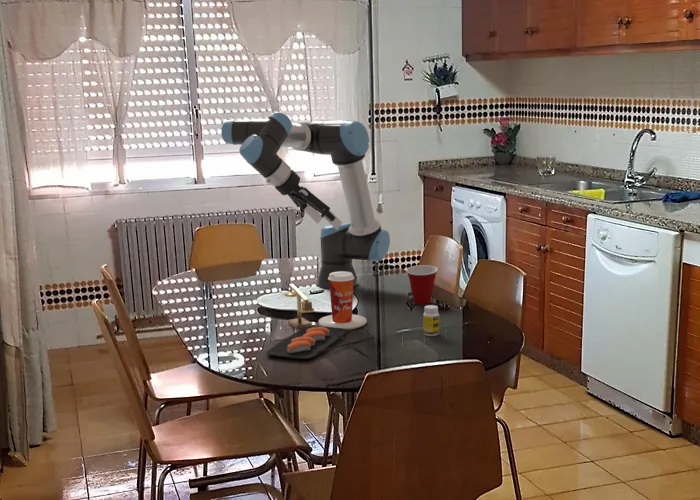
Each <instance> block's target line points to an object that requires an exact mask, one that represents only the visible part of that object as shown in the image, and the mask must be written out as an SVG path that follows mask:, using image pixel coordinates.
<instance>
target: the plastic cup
mask: <svg viewBox="0 0 700 500" xmlns="http://www.w3.org/2000/svg"><path fill="white" fill-rule="evenodd" d="M438 270H439V269H438V267H436V266H433V265H428V264H425V265H424V264H422V265H421V264H419V265H413V266H410V267H407V268H406V269H405V271H406V273H407V277H408V280H409V285H410V291H411V293H412V301H413V303H414V304H416V305H430V303H431V301H432V297H433V292H434V288H435V286H434V285H435V280H436V276H437V272H438Z"/></svg>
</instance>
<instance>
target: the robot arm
mask: <svg viewBox="0 0 700 500" xmlns="http://www.w3.org/2000/svg"><path fill="white" fill-rule="evenodd" d="M220 135H221V137H222V140H223V141H224V142H225V144H227V145H235V146H236V145H240V147H239V150H238V151H239V154H240V156H242V158H243V160H245V161H246V163H247V164H248V165H250V166H251V167H252V168H253V169H254V170H255V171H257V173H259V174H260V175H261V176H262V177H263V178H264V179H265V182H266V184H270V185H272V186H273V187H274V188H275V190H276V191H278V192H279V194H280V195H282V196H288V198H290V200H291V201H292V202H293V203H294V204H295V206H296V207H297V208H300V209H301V210H303V211H304V212H305V213H306V214H307V215H308V217H310V218H311V219H312V220H313V221H314V222H315V223H316V224H319V223H320V222H321V221H322V220H323V218H324V219H325V220H326V222H328V223H329V224H327V225H324V226H322V227H321V229H320V237H319V239H320V254H321V255H320V258H321V266H320V270H319V272H318V276H317V280H316V281H317V282H316V283H317V286H318V287H319V288H322V289H329V290H330V285H329V280H328V277H329V274H330V273H332V272H339V271H345V272H351V273H352V274H353V276H354V279H353V288H354V287H355V286H357V285H358V277H357V274H356V271H355V268H354V264H353V260H357V261H359V260H360V261H367V262H381V261H382V260H384V259H385V257H386V256H387V255H388V252H389V249H390V244H391V235H390V233H389V232H388V231H387V229H382V226H381V223H380V221H379V220H378V219H376V218H375V213H374V208H373V203H372V200H371V196H370V190H369V186H368V182H367V177H366V173H365V172H366V171H365V168H364V163H363V160H364V159H365V158H366V153H367V152H368V150H369V148H370V147H369V146H370V144H369V143H370V137H369V134H368V129H367V128H366V127H365V125H364V124H363V123H361V122H360V121H359V120H358V121H357V120H352V119H351V120H350V119H347V120H346V119H345V120H315V121H307V122H306V121H305V122H300V121H298V122H295V123H292V120H291V119H290V118H289V116H288V115H287V114H285V113H283V112H280V111H274V112H272V113H271V114H270V115H269V116H268V117H267V119H228V120H225V121H224V123H223V124H222V126H221V134H220ZM282 147H283V148H291V149H293V150H295V151H300V152H307V153H311V154H316V155H317V154H318V155H324V156H325V155H327V156H330V158H331V161H332V164H333V165H335V166H337V168H338V171H339V177H340V181H341V185H342V188H343V193H344V198H345V202H346V206H347V211H348V215H349V219H350V222H342V221H341V219H339V218H338V217H337V216H336V215H335V214H334V212H332V210H331V207H330V206H329V205H327V204H326V203H324V202H323V201H322V200H321V199H320V198H318V196H316V195H315V194H313V193H312V192H311V191H310V190H309V189H308V188H307V187H305V186H303V185H302V186H301V185H300V182H301V176H300V175H298V173H296V171H294V169H291V167H290V165H289V164H288V163H286V162H285V161H284V159H282V158H281V157H280V156H279V155H278V152H279V150H280V148H282Z"/></svg>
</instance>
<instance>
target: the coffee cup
mask: <svg viewBox="0 0 700 500" xmlns="http://www.w3.org/2000/svg"><path fill="white" fill-rule="evenodd" d="M353 279H354V276H353V274H352V273H351V272H345V271H339V272H332V273H330V274H329V277H328V280H329V285H330V289H329V292H330V293H329V294H330V295H329V296H330V297H329V298H330V307H331V315H332V319H333V322H335V323H348V322H351V321H352V314H353V304H354V303H353V299H354V298H353V297H354V287H353Z"/></svg>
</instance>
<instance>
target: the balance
mask: <svg viewBox="0 0 700 500" xmlns="http://www.w3.org/2000/svg"><path fill="white" fill-rule="evenodd" d="M289 287H290V291H288V292H285V293H284V297H287V298H288V297H289V298H292V297H293V298H294V297H295V298H296V304H297V305H296V306H297V307H296V308H297V317H296V318H293V319H291V318H290V319H288V320H287V324H288V325H290V326H291V327H293V328H294V329H297V330H300V329H302V328H304V327H306V326H313V324H312V322H311V321H309V320H308V319H306V318H305V317H302V314H312V313H313V312H315V308H313V302H312V301H311V300H309V299H308V297H307V296H306V295H304V294H303V292H301V290H299V288H298V287H296V285H295V284H294V283H289Z"/></svg>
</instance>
